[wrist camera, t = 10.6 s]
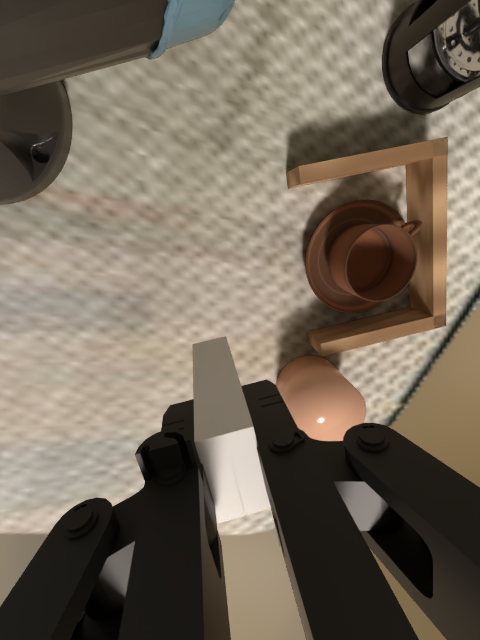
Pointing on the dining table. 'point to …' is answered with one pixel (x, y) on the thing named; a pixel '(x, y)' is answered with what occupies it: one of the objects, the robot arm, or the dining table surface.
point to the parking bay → (431, 240)
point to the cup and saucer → (361, 256)
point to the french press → (448, 45)
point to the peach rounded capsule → (320, 398)
